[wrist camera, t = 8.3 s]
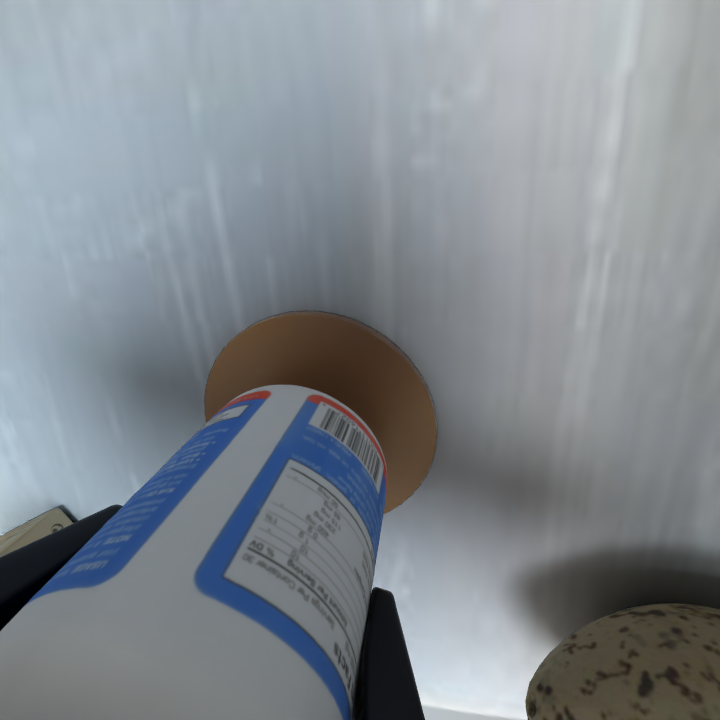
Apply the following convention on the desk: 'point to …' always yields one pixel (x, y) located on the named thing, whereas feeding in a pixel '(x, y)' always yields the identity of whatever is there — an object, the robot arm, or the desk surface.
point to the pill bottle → (217, 579)
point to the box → (33, 530)
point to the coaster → (338, 383)
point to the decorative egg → (634, 668)
